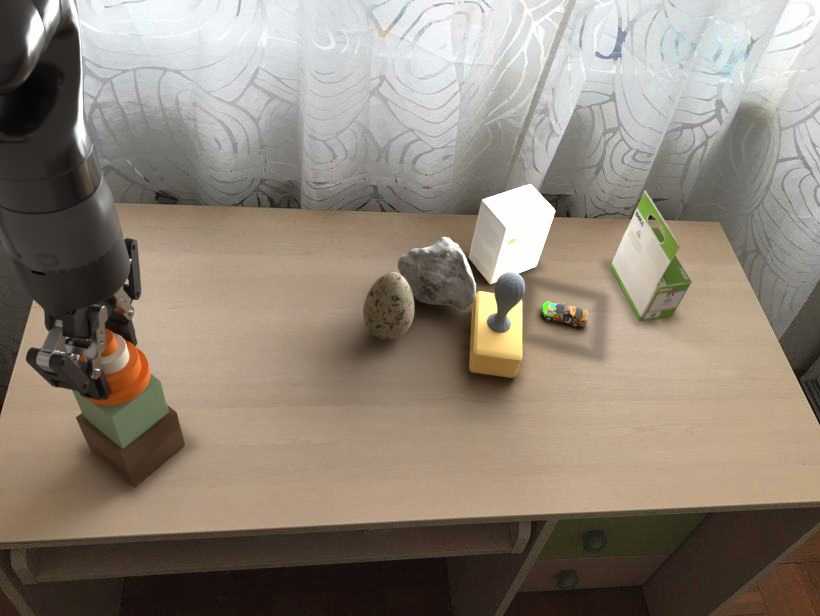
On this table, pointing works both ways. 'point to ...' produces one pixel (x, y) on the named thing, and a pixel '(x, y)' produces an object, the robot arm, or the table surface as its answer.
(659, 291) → the ink box
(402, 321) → the decorative egg
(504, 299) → the rubber stamp
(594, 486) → the table surface
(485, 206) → the small box
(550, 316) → the toy car
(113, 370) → the cone
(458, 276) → the stone
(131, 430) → the sage block
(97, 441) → the walnut block
